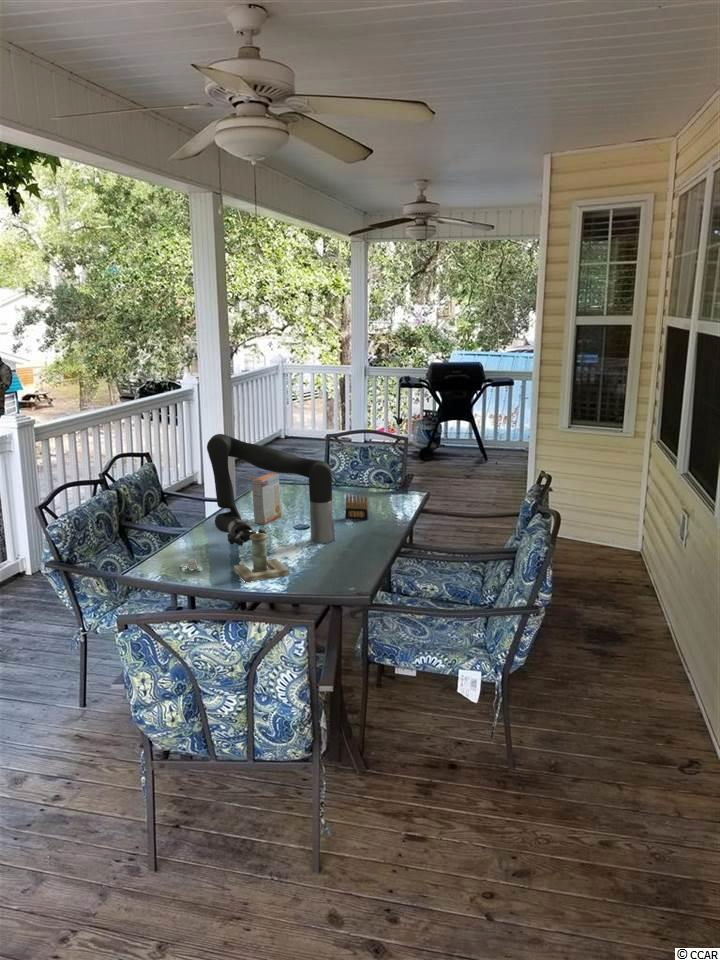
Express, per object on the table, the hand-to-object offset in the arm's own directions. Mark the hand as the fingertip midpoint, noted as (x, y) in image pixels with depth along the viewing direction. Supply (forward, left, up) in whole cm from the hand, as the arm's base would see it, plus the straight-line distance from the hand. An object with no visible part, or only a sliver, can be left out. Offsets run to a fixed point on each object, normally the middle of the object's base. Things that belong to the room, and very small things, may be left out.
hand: (252, 541), depth 262 cm
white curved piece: (+21, -10, -10) cm, 25 cm away
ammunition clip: (-62, -38, -10) cm, 73 cm away
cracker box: (-25, -56, -10) cm, 62 cm away
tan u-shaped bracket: (0, +9, -9) cm, 13 cm away
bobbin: (0, +8, -9) cm, 12 cm away
